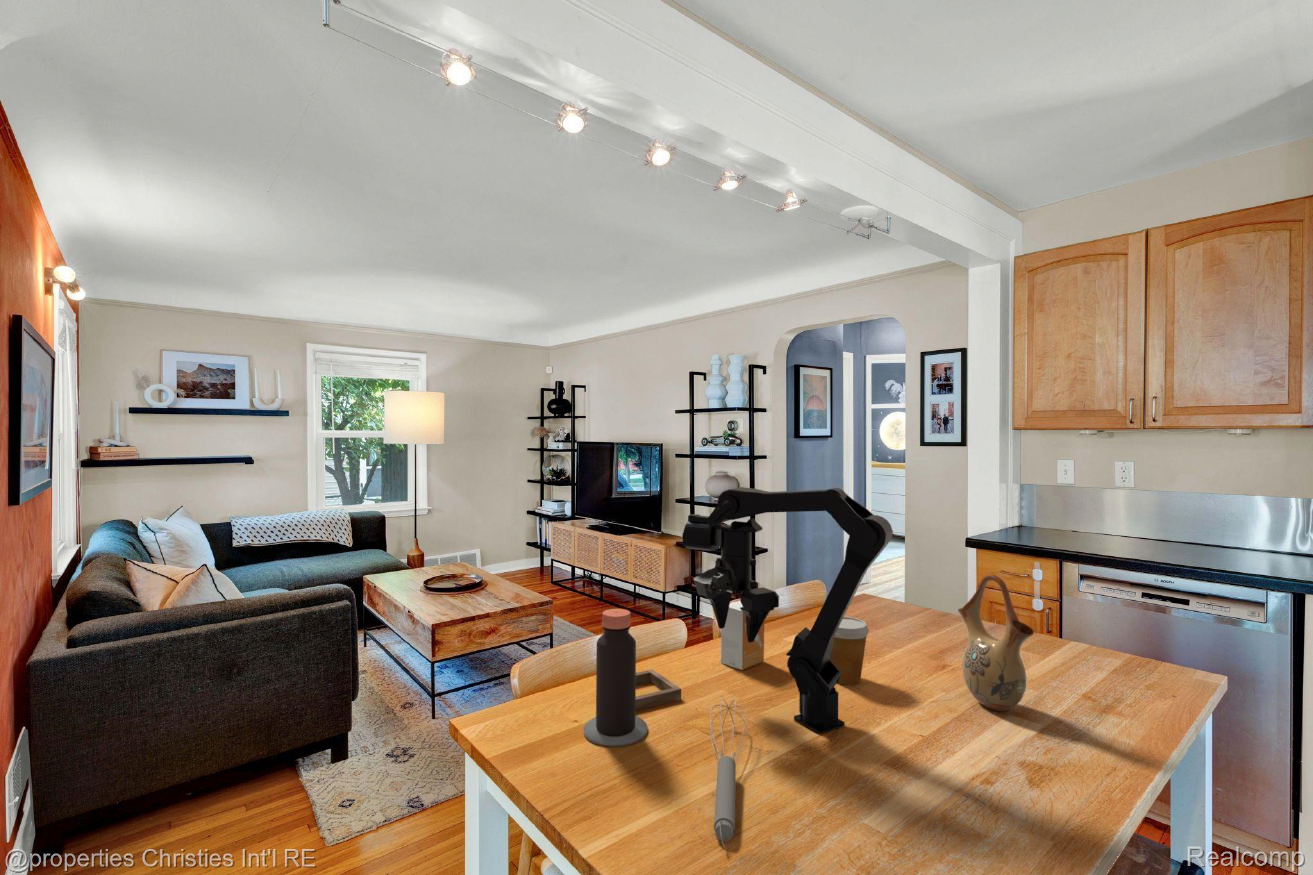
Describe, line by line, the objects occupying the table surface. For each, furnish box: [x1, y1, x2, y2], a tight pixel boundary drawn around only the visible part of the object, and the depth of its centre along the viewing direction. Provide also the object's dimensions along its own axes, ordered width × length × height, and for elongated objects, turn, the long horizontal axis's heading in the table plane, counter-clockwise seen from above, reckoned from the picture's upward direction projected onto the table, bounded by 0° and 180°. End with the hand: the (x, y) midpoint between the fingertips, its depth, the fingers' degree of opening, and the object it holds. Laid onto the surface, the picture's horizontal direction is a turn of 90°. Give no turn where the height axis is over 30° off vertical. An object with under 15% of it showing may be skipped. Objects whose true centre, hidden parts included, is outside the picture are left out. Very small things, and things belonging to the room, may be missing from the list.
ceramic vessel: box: [957, 574, 1035, 712], centre depth 118 cm, size 16×9×25 cm, turn 17°
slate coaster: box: [583, 715, 648, 748], centre depth 108 cm, size 11×11×1 cm
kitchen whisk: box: [709, 698, 748, 850], centre depth 93 cm, size 6×34×6 cm, turn 172°
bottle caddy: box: [635, 668, 682, 711], centre depth 123 cm, size 11×11×2 cm
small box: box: [720, 600, 765, 671], centre depth 140 cm, size 8×6×13 cm
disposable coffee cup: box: [830, 616, 870, 686], centre depth 131 cm, size 10×10×12 cm
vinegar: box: [595, 608, 637, 736], centre depth 107 cm, size 7×7×20 cm
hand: (735, 634), depth 119 cm, fingers open, 9 cm apart
